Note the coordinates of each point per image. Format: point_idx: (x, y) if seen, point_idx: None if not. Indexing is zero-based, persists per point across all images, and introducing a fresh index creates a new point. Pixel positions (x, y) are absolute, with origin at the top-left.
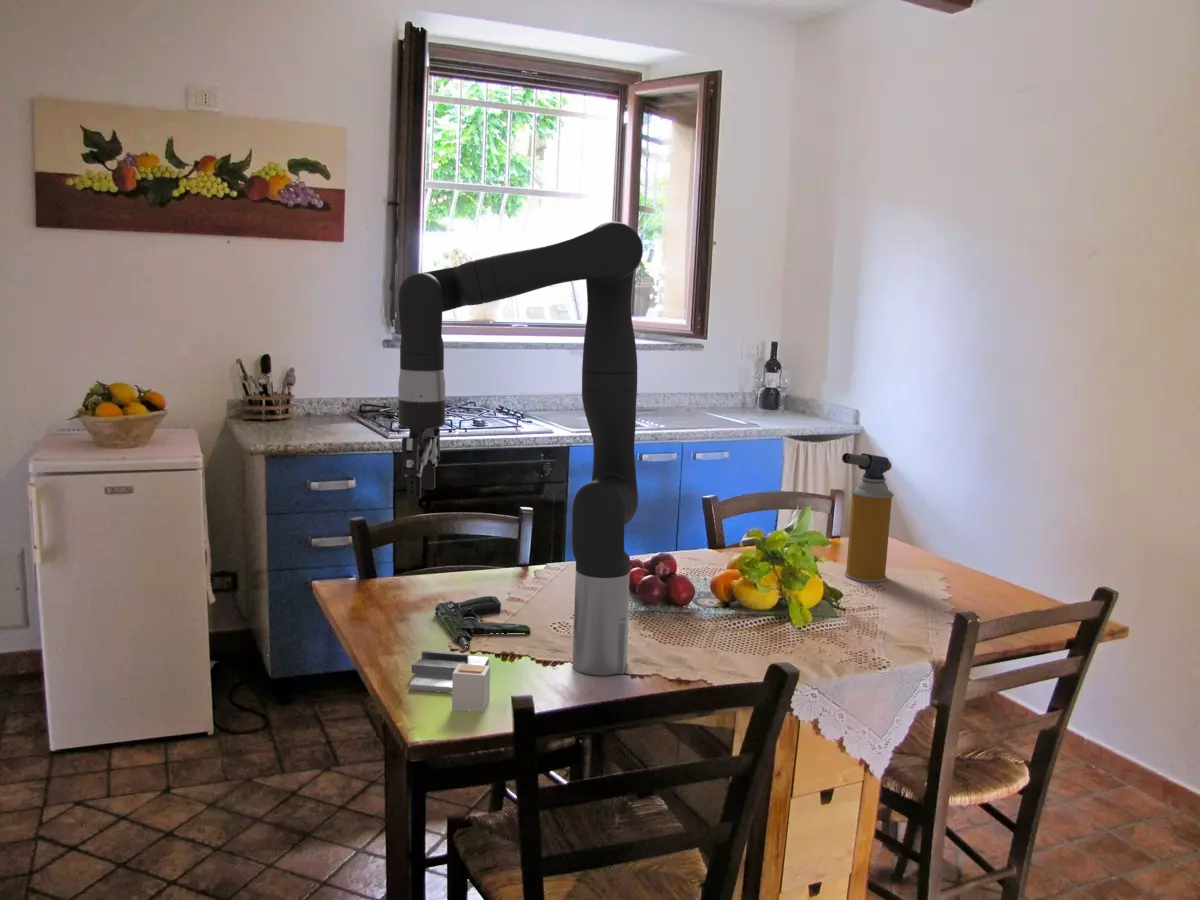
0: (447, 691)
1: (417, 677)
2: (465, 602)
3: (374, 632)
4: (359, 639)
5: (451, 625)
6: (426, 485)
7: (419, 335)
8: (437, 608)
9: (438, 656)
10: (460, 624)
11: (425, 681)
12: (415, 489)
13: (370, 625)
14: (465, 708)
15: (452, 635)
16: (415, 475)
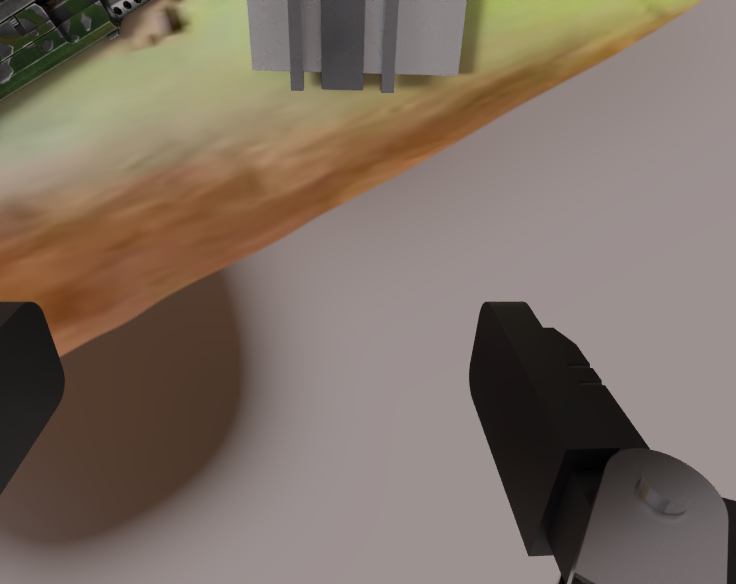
0: None
1: (417, 66)
2: None
3: (135, 249)
4: (189, 265)
5: (46, 62)
6: (40, 376)
7: None
8: None
9: (302, 40)
10: (30, 34)
11: (439, 39)
12: (594, 381)
13: (96, 270)
14: None
15: (84, 49)
16: (731, 508)
